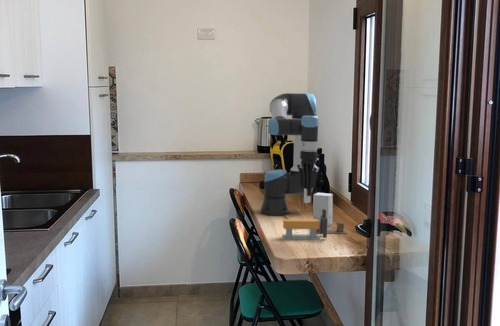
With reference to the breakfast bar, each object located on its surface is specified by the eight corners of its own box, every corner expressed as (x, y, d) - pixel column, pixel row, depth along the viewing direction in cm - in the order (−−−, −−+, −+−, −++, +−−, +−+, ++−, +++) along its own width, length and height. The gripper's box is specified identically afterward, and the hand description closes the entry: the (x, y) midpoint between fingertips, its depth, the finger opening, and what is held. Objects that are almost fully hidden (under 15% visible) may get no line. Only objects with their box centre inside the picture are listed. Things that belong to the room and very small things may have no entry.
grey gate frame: (319, 233, 238) (320, 207, 237) (323, 233, 238) (324, 207, 237) (323, 237, 232) (324, 211, 230) (326, 237, 232) (327, 211, 230)
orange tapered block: (283, 226, 235) (283, 219, 234) (317, 226, 236) (317, 219, 236) (284, 229, 231) (284, 221, 230) (319, 228, 232) (319, 221, 232)
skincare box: (332, 224, 259) (333, 193, 257) (327, 227, 253) (328, 196, 251) (317, 221, 263) (318, 191, 261) (311, 224, 257) (313, 194, 255)
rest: (310, 230, 247) (311, 221, 246) (343, 230, 248) (344, 221, 247) (313, 233, 241) (313, 224, 240) (346, 233, 242) (347, 224, 241)
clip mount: (282, 235, 237) (282, 226, 236) (316, 235, 238) (317, 225, 237) (284, 239, 230) (284, 229, 230) (319, 239, 232) (320, 229, 231)
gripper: (292, 149, 232) (291, 200, 235) (312, 152, 221) (310, 206, 224) (305, 148, 236) (304, 199, 239) (325, 151, 226) (323, 204, 229)
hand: (307, 202), depth 232 cm, fingers closed
